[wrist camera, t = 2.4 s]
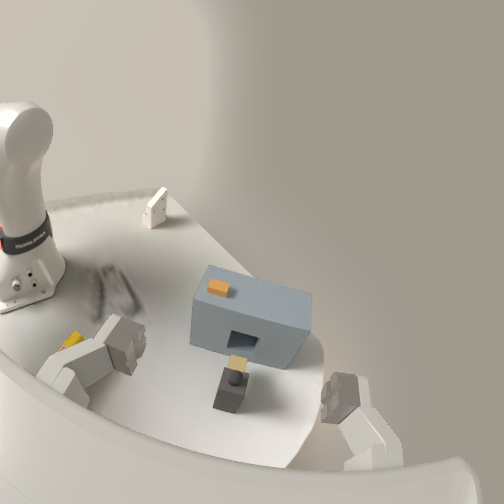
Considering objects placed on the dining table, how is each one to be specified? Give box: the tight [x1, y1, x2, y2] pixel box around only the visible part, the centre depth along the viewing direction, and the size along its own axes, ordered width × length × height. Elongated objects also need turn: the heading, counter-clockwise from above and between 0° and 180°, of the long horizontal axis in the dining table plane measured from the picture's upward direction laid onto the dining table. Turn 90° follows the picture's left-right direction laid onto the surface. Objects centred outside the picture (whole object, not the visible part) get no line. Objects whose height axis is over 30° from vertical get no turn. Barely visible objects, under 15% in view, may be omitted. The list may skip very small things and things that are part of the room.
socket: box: [190, 265, 312, 370], centre depth 46 cm, size 8×18×14 cm, turn 79°
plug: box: [213, 354, 249, 413], centre depth 38 cm, size 8×4×11 cm, turn 169°
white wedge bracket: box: [142, 187, 167, 229], centre depth 71 cm, size 4×10×9 cm, turn 151°
